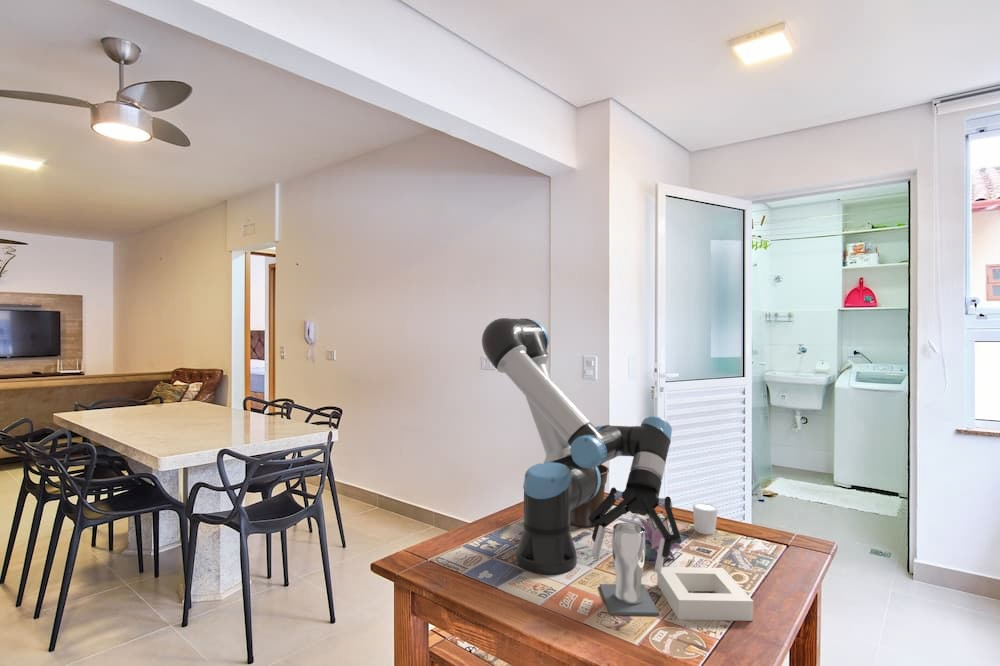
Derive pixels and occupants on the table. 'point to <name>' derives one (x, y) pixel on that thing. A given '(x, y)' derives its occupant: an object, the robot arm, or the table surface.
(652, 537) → the lily
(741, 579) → the table surface
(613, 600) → the slate coaster
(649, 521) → the game die
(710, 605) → the board
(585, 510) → the plant pot
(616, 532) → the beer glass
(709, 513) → the white short tapered cylinder
